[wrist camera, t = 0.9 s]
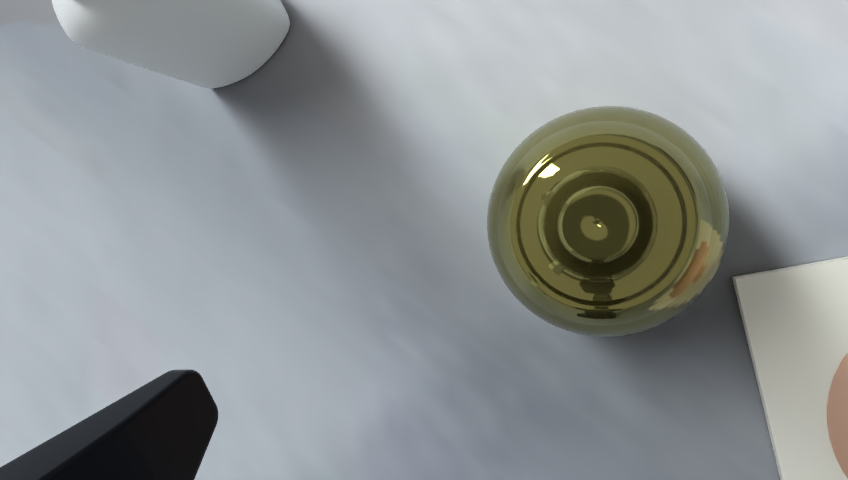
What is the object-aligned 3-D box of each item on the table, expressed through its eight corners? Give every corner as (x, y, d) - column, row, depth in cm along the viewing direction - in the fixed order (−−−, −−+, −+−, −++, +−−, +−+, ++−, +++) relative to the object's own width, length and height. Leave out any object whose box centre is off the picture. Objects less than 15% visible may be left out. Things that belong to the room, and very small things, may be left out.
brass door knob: (470, 215, 23) (378, 214, 14) (610, 85, 22) (613, -18, 12) (592, 353, 22) (581, 456, 13) (753, 228, 20) (882, 236, 11)
